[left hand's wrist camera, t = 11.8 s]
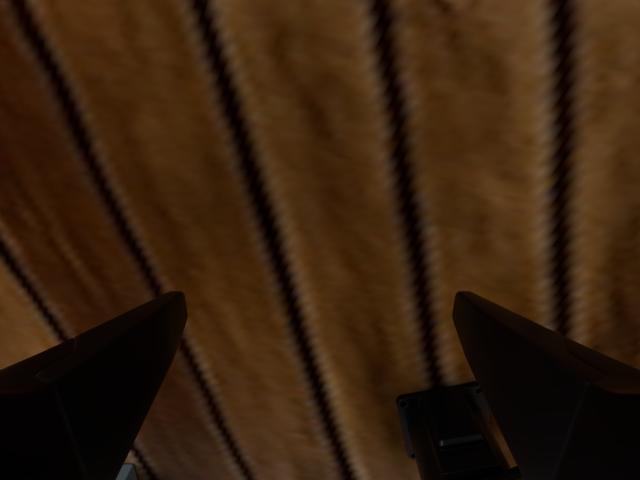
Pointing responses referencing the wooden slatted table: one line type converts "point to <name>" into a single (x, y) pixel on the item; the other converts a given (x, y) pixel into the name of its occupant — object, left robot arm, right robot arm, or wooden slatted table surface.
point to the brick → (127, 473)
